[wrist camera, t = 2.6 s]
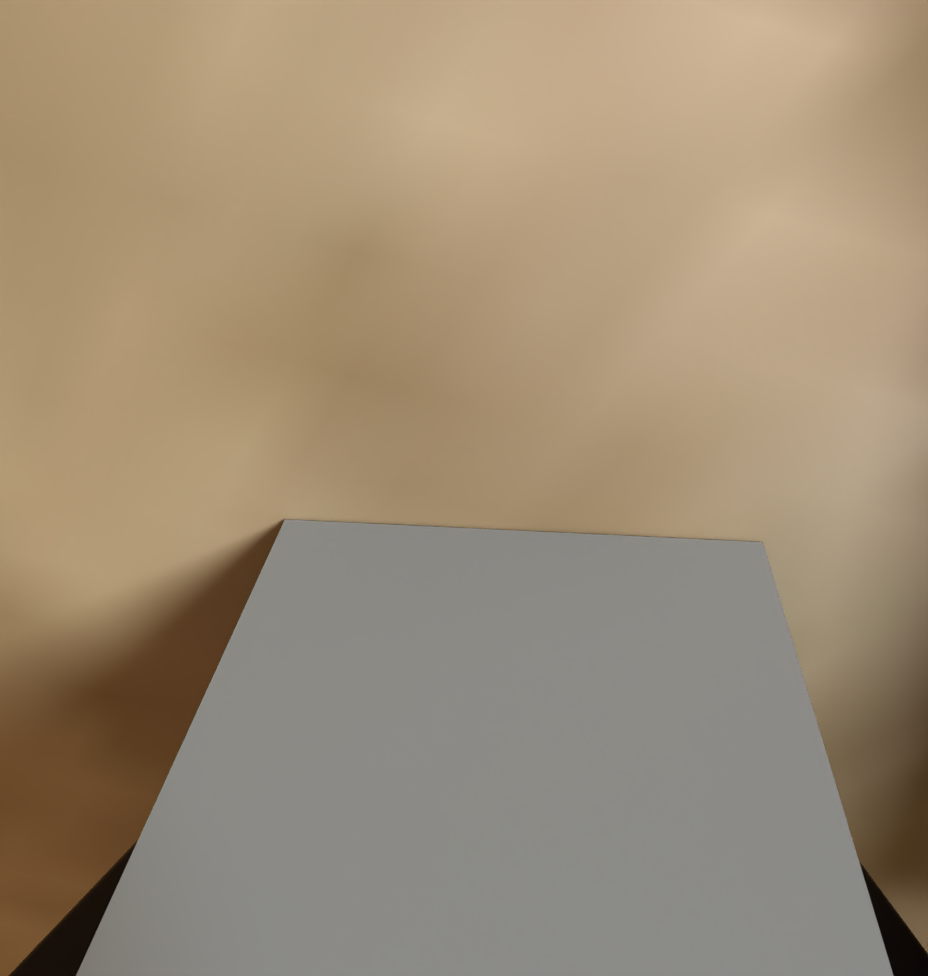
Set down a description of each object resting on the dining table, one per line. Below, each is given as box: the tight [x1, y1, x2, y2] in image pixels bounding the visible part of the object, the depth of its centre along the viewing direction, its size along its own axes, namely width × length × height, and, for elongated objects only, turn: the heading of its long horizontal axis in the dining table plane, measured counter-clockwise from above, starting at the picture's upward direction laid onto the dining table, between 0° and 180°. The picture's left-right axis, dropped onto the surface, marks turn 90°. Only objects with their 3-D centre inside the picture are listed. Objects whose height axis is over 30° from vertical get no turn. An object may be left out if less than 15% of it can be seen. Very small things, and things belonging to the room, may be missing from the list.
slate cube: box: [76, 519, 893, 976], centre depth 8 cm, size 5×5×5 cm
